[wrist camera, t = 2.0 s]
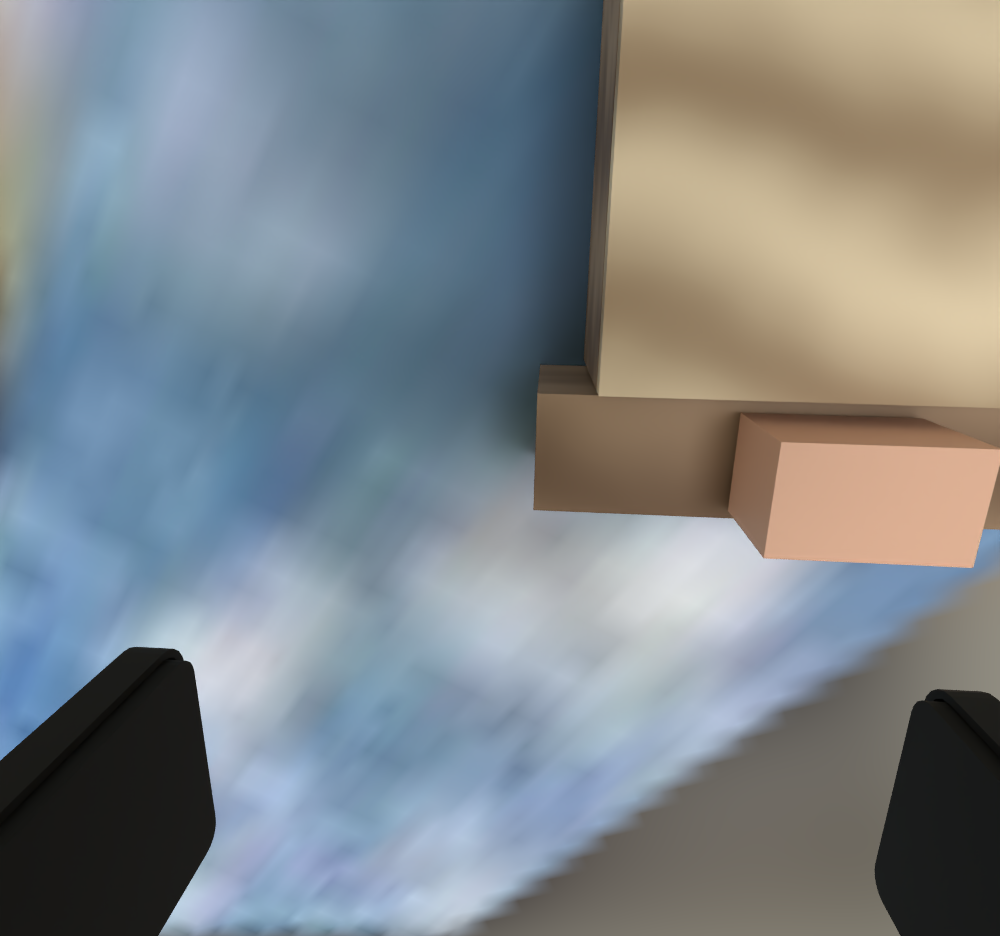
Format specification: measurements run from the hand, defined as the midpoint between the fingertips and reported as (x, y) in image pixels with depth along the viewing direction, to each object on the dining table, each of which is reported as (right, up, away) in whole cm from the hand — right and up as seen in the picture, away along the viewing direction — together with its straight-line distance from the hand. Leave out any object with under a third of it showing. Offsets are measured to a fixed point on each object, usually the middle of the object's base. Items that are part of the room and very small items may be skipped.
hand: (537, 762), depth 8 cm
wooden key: (+11, +4, +14) cm, 18 cm away
